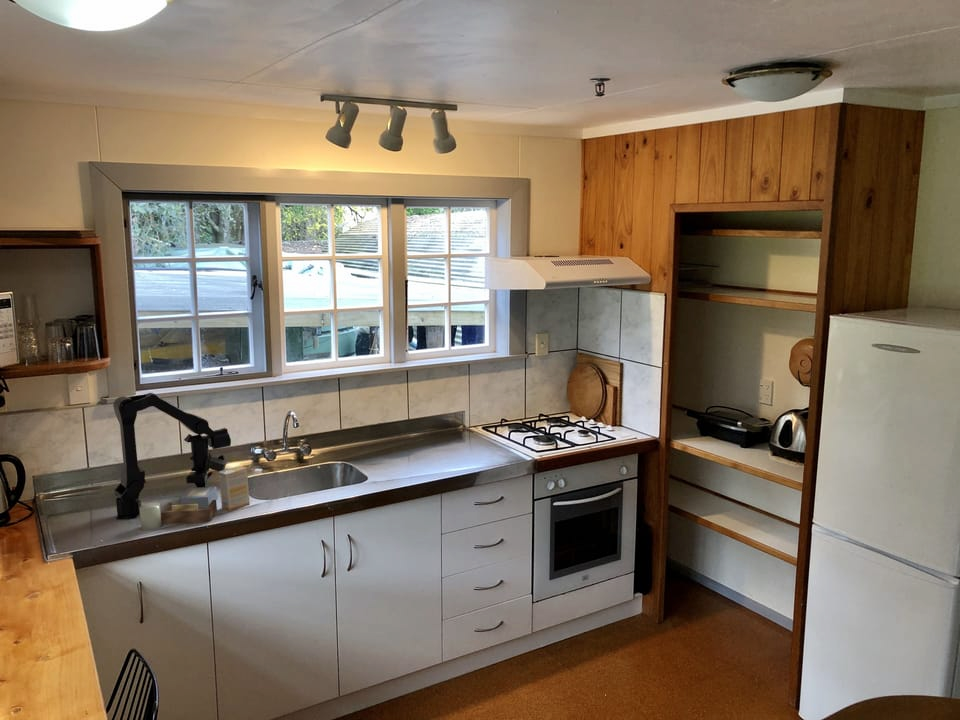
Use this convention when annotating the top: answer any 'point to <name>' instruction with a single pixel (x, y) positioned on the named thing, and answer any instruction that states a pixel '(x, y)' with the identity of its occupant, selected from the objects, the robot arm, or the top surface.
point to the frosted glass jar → (150, 516)
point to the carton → (199, 496)
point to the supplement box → (234, 488)
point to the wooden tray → (187, 513)
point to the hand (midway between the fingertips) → (203, 494)
